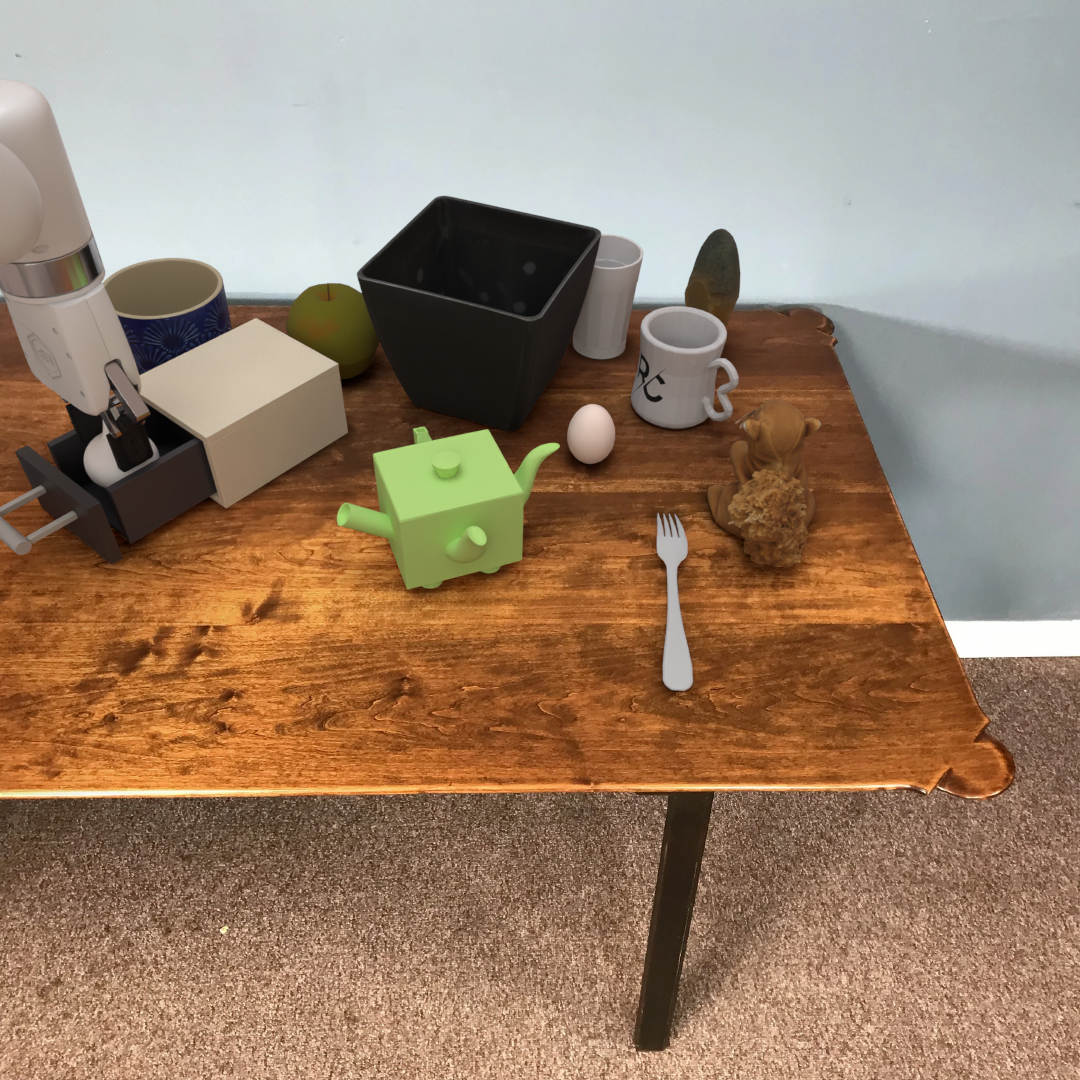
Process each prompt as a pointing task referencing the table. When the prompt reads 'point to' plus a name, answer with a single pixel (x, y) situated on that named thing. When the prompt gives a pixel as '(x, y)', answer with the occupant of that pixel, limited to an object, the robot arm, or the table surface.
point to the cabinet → (251, 404)
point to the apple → (334, 326)
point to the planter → (168, 307)
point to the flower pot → (478, 306)
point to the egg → (591, 434)
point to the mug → (681, 368)
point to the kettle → (448, 506)
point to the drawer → (112, 490)
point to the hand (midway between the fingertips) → (116, 447)
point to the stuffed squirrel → (768, 486)
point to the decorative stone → (715, 276)
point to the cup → (609, 299)
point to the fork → (674, 607)
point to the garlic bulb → (108, 459)
